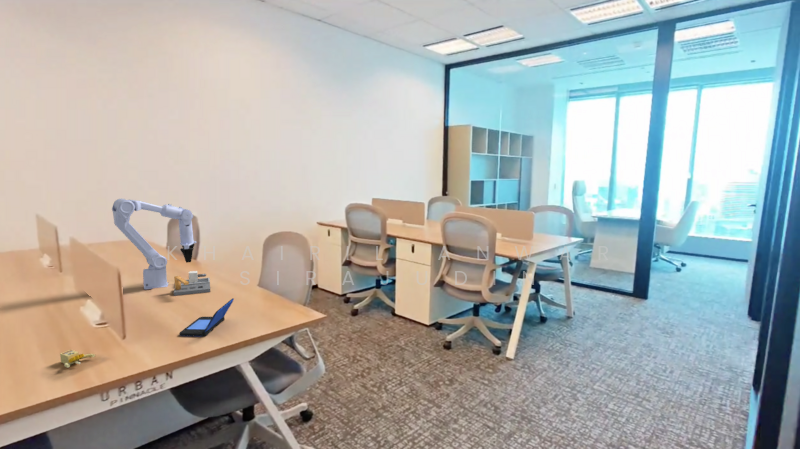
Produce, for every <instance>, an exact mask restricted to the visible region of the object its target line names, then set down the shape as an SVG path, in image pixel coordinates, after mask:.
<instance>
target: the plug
mask: <svg viewBox="0 0 800 449" xmlns="http://www.w3.org/2000/svg"><path fill="white" fill-rule="evenodd" d="M206 277H207V274H206V273H198V270H191V271H188V280H189V283H191V282H192V283H195V282H198V279H199V278H206Z"/></svg>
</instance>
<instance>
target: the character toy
mask: <svg viewBox="0 0 800 449" xmlns="http://www.w3.org/2000/svg"><path fill="white" fill-rule="evenodd" d="M59 356H60V363H61V364H64V365H63V366H64V368H71V366H72V365H73V364H77V365H81V362H80V360H82V359H86V358H95V357H96V354H95V353H87V354H84V353H79V351H76V350H74V349H68V350H66V351H64V352H60V353H59Z"/></svg>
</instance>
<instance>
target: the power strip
mask: <svg viewBox="0 0 800 449" xmlns="http://www.w3.org/2000/svg"><path fill="white" fill-rule="evenodd" d="M206 293H211V283H210V284H200V285H190V286H181V289H180V290H175V288H174V290H173V296H174V297H176V296H177V297H178V296H184V295H185V296H187V295H195V294H206Z"/></svg>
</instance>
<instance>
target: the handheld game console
mask: <svg viewBox="0 0 800 449" xmlns="http://www.w3.org/2000/svg"><path fill="white" fill-rule="evenodd" d="M234 299H235V298H231V299H230V300H229V301H228V302H226V303H224V305H222V306H221V307H220V308H219V309H217V311H215V312H214V313H213V315H212V316H200V317H198V318H196V320H194V321H192V322H191V323H190V324H188V325H187V326H186V327H185V328H184V329H182V330H181V331H180V332H179V336H180V337H191V338H193V337H196V338H197V337H200V338H201V337H203V338H204V337H207V336H208V335H209V334H210V333H211V332H213V331H214V328H217V327H218V326H219V325H220V324H221V323H223V322H224V321H225V315H226V314H227V312H228V311H229V309H230V307H231V306H232V304H233V302H234Z"/></svg>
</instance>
